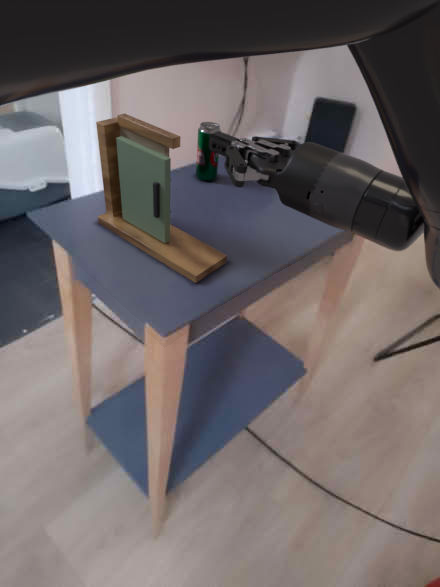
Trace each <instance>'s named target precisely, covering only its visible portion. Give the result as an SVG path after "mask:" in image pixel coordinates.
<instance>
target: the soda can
mask: <svg viewBox="0 0 440 587" xmlns="http://www.w3.org/2000/svg"><path fill="white" fill-rule="evenodd" d="M218 131H220V132H222V130H221V124H219V123H217V122H213V121H203V122H201V123H199V127H198V129H197V141H196V142H197V144H196V160H195V162H196V163H195V176H196V178H197V179H198V180H200V181H202V182H212V181H214V180H216V179H217V178H218V170H219V159H220V154H218V153H215V152H213V151H211V150H210V149H209V136H210V134H212V133H215V132H218Z"/></svg>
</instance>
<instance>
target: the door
mask: <svg viewBox="0 0 440 587" xmlns="http://www.w3.org/2000/svg"><path fill="white" fill-rule="evenodd" d="M116 142H117V154H118V166H119V178H120V190H121V203H122V215H123V219H124V220H126V221H128V222H129V223H131V224H133V225H134V226H136V227H138V228H140V229H141V230H143V231H145V232H146V233H148V234H150V235H152V236H153V237H155V238H157V239H158V240H160V241H162V242H163V243H167V242H169V241H170V224H171V171H172V170H171V168H172V167H171V160H172V159H171V157H170V156H169V157H167V156H165V155H162V154H160V153H158V152H156V151H154V150H151V149H149V148H147V147H145V146H142V145H140V144H138V143H136V142H134V141H131V140H129V139H127V138H125V137H123V136H121V137H117V138H116Z"/></svg>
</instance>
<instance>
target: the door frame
mask: <svg viewBox="0 0 440 587" xmlns="http://www.w3.org/2000/svg"><path fill="white" fill-rule="evenodd" d="M95 126H96V132H97V141H98V151H99V152H98V153H99V159H100V160H99V161H100V169H101V178H102V184H103V185H102V186H103V187H102V188H103V194H104V205H105V212H104V213H102V214H100V215H98V216H97V222H98V224H99V225H100V226H102V227H104V228H105V229H106V230H108V231H110V232H112V233H113V234H115V235H117V236H119V237H120V238H122V239H123V240H125V241H127V242H128V243H130V244H132V245H133V246H135V247H136V248H138V249H140V250H141V251H143V252H144V253H145V254H148V255H149V256H151V257H153V258H154V259H156V260H157V261H159V262H160V263H162V264H164V265H165V266H167V267H169V268H170V269H172V270H173V271H175V272H177V273H178V274H180V275H182V276H183V277H185V278H187V279H188V280H190V281H191V282H193V283H195V284H197V283H198V282H200V281H201V280H203V279H204V278H206V277H207V276H209V275H210V274H212V273H214V272H215V271H216V270H218V269H220V268H221V267H222V266H224V265H225V264H227V261H228V260H227V259H228V254H225V253H224V252H221V251H220V250H218V249H216V248H214V247H212V246H211V245H209V244H208V243H205V242H204V241H201V240H199V239H198V238H197V237H194V236H193V235H191V234H189V233H187V232H185V231H183V230H182V229H180V228H178V227H177V226H174V225H172V224H171V223H170V241H169V242H167V243H163V242H162V241H160V240H158V239H157V238H155V237H153V236H152V235H150V234H148V233H146V232H145V231H143V230H141V229H140V228H138V227H136V226H134V225H133V224H131V223H129V222H128V221H126V220H124V219H123V215H122V203H121V190H120V178H119V166H118V154H117V142H116V138H117V137H121V136H123V137H125V138H127V139H129V140H131V141H134V142H136V143H138V144H140V145H142V146H145V147H147V148H149V149H151V150H154V151H156V152H158V153H160V154H162V155H165V156H167V157H169V158H170V149H171V150H175V149H178V148H181V136H180V135H178V134H175V133H173V132H171V131H169V130H166V129H164V128H161V127H159V126H156V125H154V124H151V123H149V122H146V121H144V120H142V119H139V118H136V117H134V116H132V115H130V114H127V113H121V114H117V116H116V117H112V118H106V119H102V120H99V121H96V124H95Z"/></svg>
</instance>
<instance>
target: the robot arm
mask: <svg viewBox="0 0 440 587" xmlns="http://www.w3.org/2000/svg"><path fill="white" fill-rule="evenodd" d="M343 46H346V47H347V49H348V50H349V53H350V54H351V56H352V58H353V59H354V62H355V64H356V66H357V67H358V69H359V72H360V74H361V76H362V78H363V80H364V82H365V84H366V87H367V90H368V92H369V93H370V94H369V95H370V97H371V98H372V101H373V103H374V106H375V108H376V110H377V114H378V116H379V119H380V122H381V124H382V126H383V129H384V132H385V135H386V138H387V140H388V143H389V146H390V149H391V151H392V154H393V156H394V160H395V162H396V165H397V167H398V170H399V172H400V175H398V174H395V173H392V172H389V171H386V170H383V169H381V168H379V167H377V166H376V165H374V164H372V163H370V162H367V161H366V160H363V159H361V158H358V157H355V156H353V155H349V154H346V153H344V152H341V151H338V150H335V149H333V148H330V147H327V146H325V145H321V144H319V143H315V142H312V141H304V142H303V143H301V144H299V141H297V140H294V139H284V138H276V137H275V138H274V137H265V136H257V135H256V136H255V135H254V136H252V137H251V139H249V138H247V137H240V138H238V137H236V136H233V135H230V134H227V133H226V132H222V131H221V132H220V131H218V132H215V133H212V134H210V136H209V149H210V150H211V151H213V152H215V153H218V154H219V156H220V155H221V156H223V157H225V158H224V159H225V160H224V165H223V167H224V169H225V171H226V173H227V175H228V177H229V179H230V180H231V182H232V185H233V186H234V187H236V188H243V187H245V183H246V181H247V182H248V181H255V182H257V184H258V185H260V186H261V187H265V188H266V187H267V188H271V189H275V191H276V194H277V195H278V198H279V201H280V202H281V204H282V205H283V206H285V207H288V208H289V209H292V210H295V211H296V212H299V213H301V214H303V215H306V216H308V217H310V218H311V219H314V220H317V221H319V222H321V223H323V224H325V225H328V226H330V227H333V228H336V229H339V230H343V231H346V232H349V233H351V234H354V235H356V236H359V237H360V238H363V239H365V240H368V241H370V242H372V243H374V244H376V245H378V246H381V247H383V248H385V249H387V250H391V251H394V252H403V251H405V250H407V249H408V248H410V247H411V246H412V245H413V244H414V243H415V242H416V241H417V240H418V239H419V238H420V237H421V236H422V235H423V243H424V258H425V259H424V260H425V265H426V270H427V272H428V275H429V277H430V279H431V281H432V283H433V284H434V285H435V287H436V288H437V289H438V290H439V291H440V0H0V108H1V107H5V106H8V105H12V104H15V103H18V102H23V101H27V100H29V99H33V98H39V97H43V96H47V95H51V94H56V93H61V92H65V91H70V90H74V89H78V88H83V87H87V86H90V85H91V86H92V85H95V84H99V83H103V82H107V81H111V80H115V79H118V78H121V77H126V76H129V75H133V74H138V73H142V72H146V71H150V70H155V69H163V68H169V67H174V66H183V65H188V64H189V65H190V64H195V63H196V64H197V63H204V62H213V61H221V60H231V59H241V58H251V57H260V56H267V55H276V54H277V55H278V54H286V53H287V54H288V53H295V52H297V53H298V52H305V51H315V50H323V49H329V48H338V47H343Z"/></svg>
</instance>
